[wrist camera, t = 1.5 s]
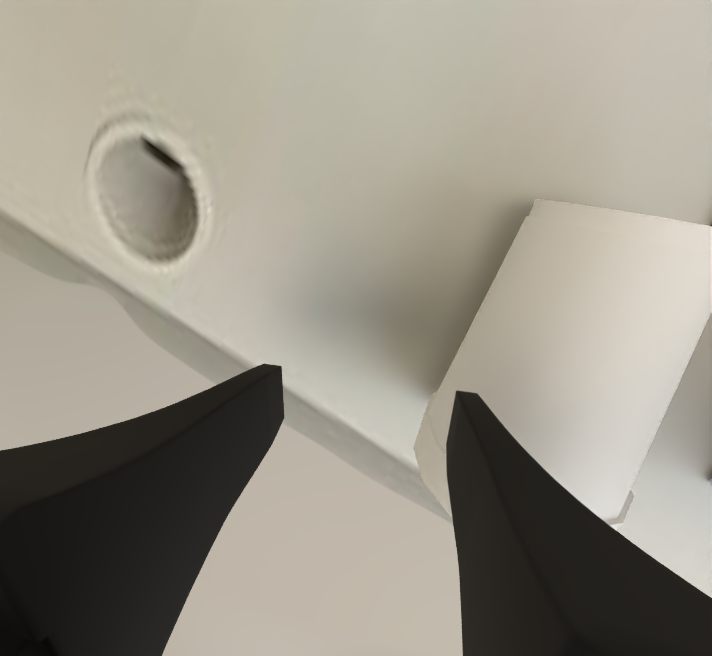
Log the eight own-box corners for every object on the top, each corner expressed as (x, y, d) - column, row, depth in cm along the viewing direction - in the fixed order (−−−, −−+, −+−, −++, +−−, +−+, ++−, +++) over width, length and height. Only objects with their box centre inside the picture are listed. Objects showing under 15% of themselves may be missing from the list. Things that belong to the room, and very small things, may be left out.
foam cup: (791, 231, 6) (526, 613, 11) (855, 255, 11) (643, 521, 16) (446, 183, 13) (382, 428, 19) (570, 209, 18) (490, 401, 23)
